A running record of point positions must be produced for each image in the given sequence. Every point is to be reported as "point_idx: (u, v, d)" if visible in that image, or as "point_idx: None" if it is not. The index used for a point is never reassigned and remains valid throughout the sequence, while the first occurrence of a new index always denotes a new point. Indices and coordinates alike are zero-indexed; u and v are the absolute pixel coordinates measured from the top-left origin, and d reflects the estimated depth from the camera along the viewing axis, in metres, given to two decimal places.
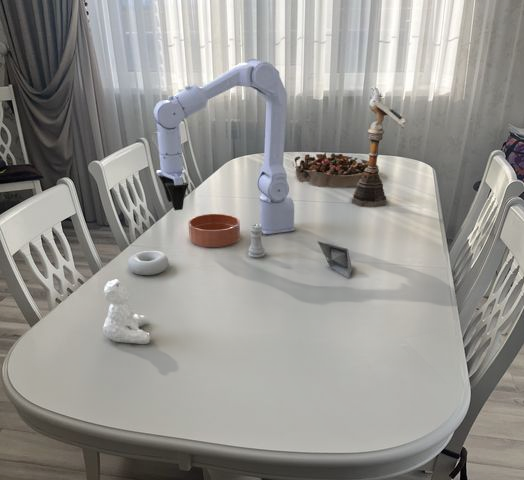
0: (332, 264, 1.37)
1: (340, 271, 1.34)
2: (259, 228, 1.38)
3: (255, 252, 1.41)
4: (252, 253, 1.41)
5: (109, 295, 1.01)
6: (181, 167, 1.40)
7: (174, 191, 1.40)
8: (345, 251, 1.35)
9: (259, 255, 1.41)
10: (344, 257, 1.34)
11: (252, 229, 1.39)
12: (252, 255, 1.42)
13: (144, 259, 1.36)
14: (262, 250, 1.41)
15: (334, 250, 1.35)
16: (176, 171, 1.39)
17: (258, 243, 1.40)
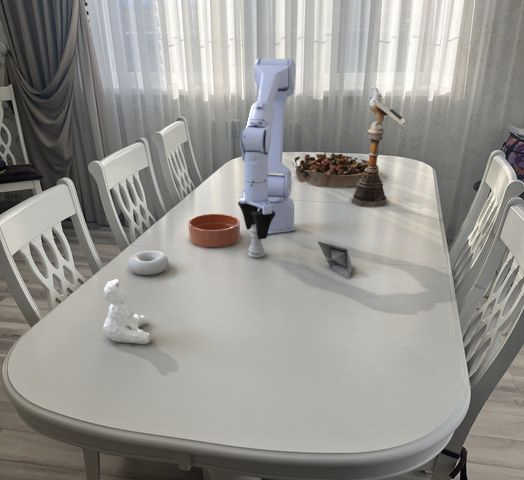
0: (332, 264, 1.37)
1: (340, 271, 1.34)
2: None
3: (255, 252, 1.41)
4: (252, 253, 1.41)
5: (109, 295, 1.01)
6: (267, 194, 1.34)
7: (260, 220, 1.34)
8: (345, 251, 1.35)
9: (259, 255, 1.41)
10: (344, 257, 1.34)
11: (252, 229, 1.39)
12: (252, 255, 1.42)
13: (144, 259, 1.36)
14: (262, 250, 1.41)
15: (334, 250, 1.35)
16: (262, 199, 1.33)
17: (258, 243, 1.40)
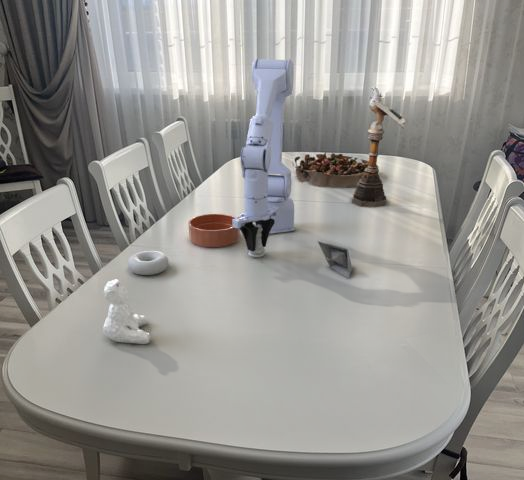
0: (332, 264, 1.37)
1: (340, 271, 1.34)
2: (259, 228, 1.38)
3: (255, 252, 1.41)
4: (252, 253, 1.41)
5: (109, 295, 1.01)
6: None
7: None
8: (345, 251, 1.35)
9: (259, 255, 1.41)
10: (344, 257, 1.34)
11: None
12: (252, 255, 1.42)
13: (144, 259, 1.36)
14: (262, 250, 1.41)
15: (334, 250, 1.35)
16: None
17: (258, 243, 1.40)
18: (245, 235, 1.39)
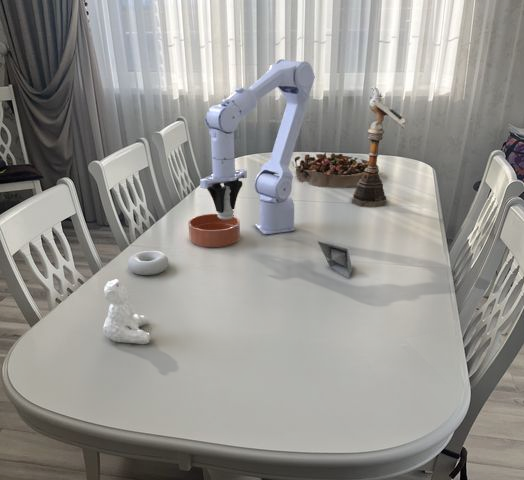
0: (332, 264, 1.37)
1: (340, 271, 1.34)
2: (227, 189, 1.41)
3: (224, 214, 1.44)
4: (221, 215, 1.44)
5: (109, 295, 1.01)
6: None
7: None
8: (345, 251, 1.35)
9: (228, 217, 1.44)
10: (344, 257, 1.34)
11: None
12: (221, 217, 1.45)
13: (144, 259, 1.36)
14: (231, 212, 1.44)
15: (334, 250, 1.35)
16: None
17: (227, 204, 1.43)
18: (213, 197, 1.42)
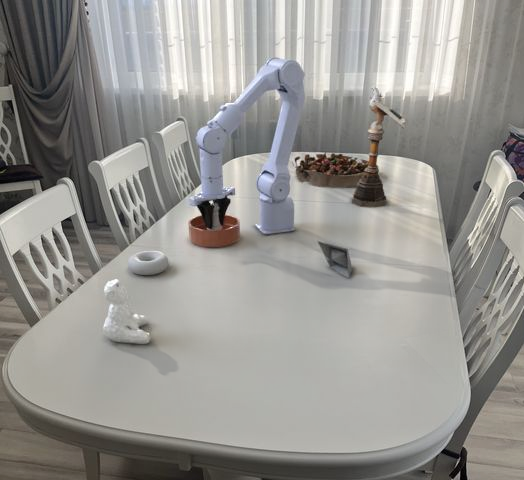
0: (332, 264, 1.37)
1: (340, 271, 1.34)
2: (216, 207, 1.47)
3: (213, 229, 1.50)
4: None
5: (109, 295, 1.01)
6: None
7: None
8: (345, 251, 1.35)
9: None
10: (344, 257, 1.34)
11: None
12: None
13: (144, 259, 1.36)
14: (219, 228, 1.50)
15: (334, 250, 1.35)
16: None
17: (215, 221, 1.49)
18: (203, 213, 1.48)
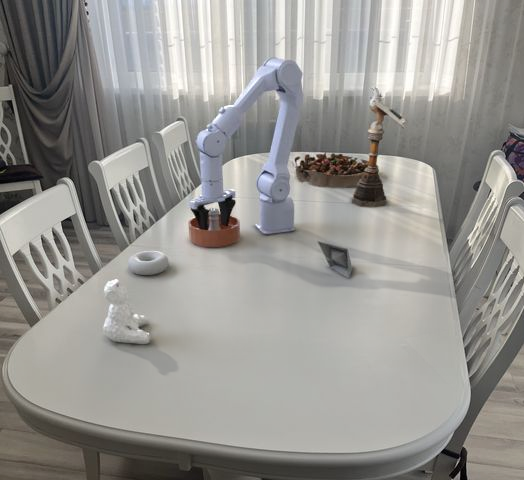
0: (332, 264, 1.37)
1: (340, 271, 1.34)
2: (216, 211, 1.48)
3: None
4: None
5: (109, 295, 1.01)
6: None
7: None
8: (345, 251, 1.35)
9: None
10: (344, 257, 1.34)
11: (209, 212, 1.48)
12: None
13: (144, 259, 1.36)
14: None
15: (334, 250, 1.35)
16: None
17: (216, 225, 1.50)
18: (198, 218, 1.47)
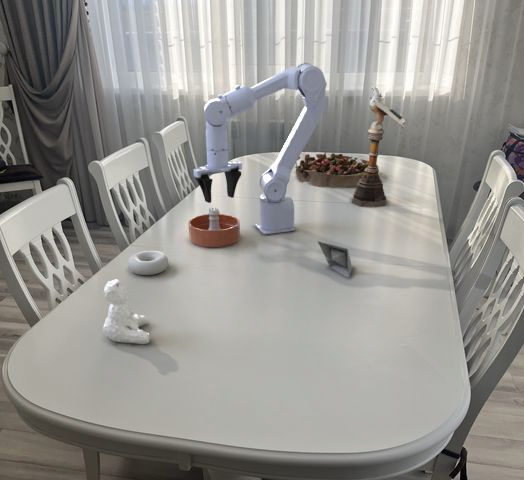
0: (332, 264, 1.37)
1: (340, 271, 1.34)
2: (216, 211, 1.48)
3: None
4: None
5: (109, 295, 1.01)
6: None
7: None
8: (345, 251, 1.35)
9: None
10: (344, 257, 1.34)
11: (209, 212, 1.48)
12: None
13: (144, 259, 1.36)
14: None
15: (334, 250, 1.35)
16: None
17: (216, 225, 1.50)
18: (202, 187, 1.50)
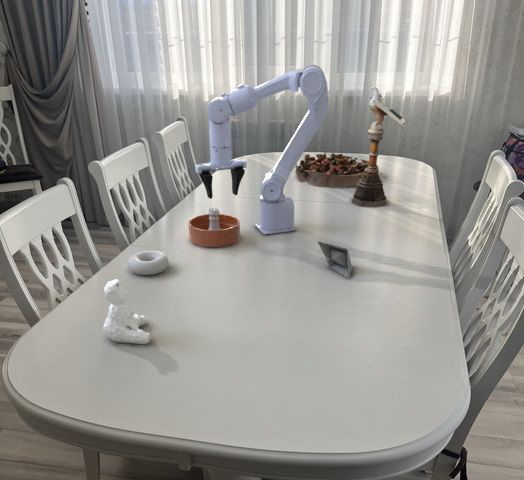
0: (332, 264, 1.37)
1: (340, 271, 1.34)
2: (216, 211, 1.48)
3: None
4: None
5: (109, 295, 1.01)
6: None
7: None
8: (345, 251, 1.35)
9: None
10: (344, 257, 1.34)
11: (209, 212, 1.48)
12: None
13: (144, 259, 1.36)
14: None
15: (334, 250, 1.35)
16: None
17: (216, 225, 1.50)
18: (205, 183, 1.53)
